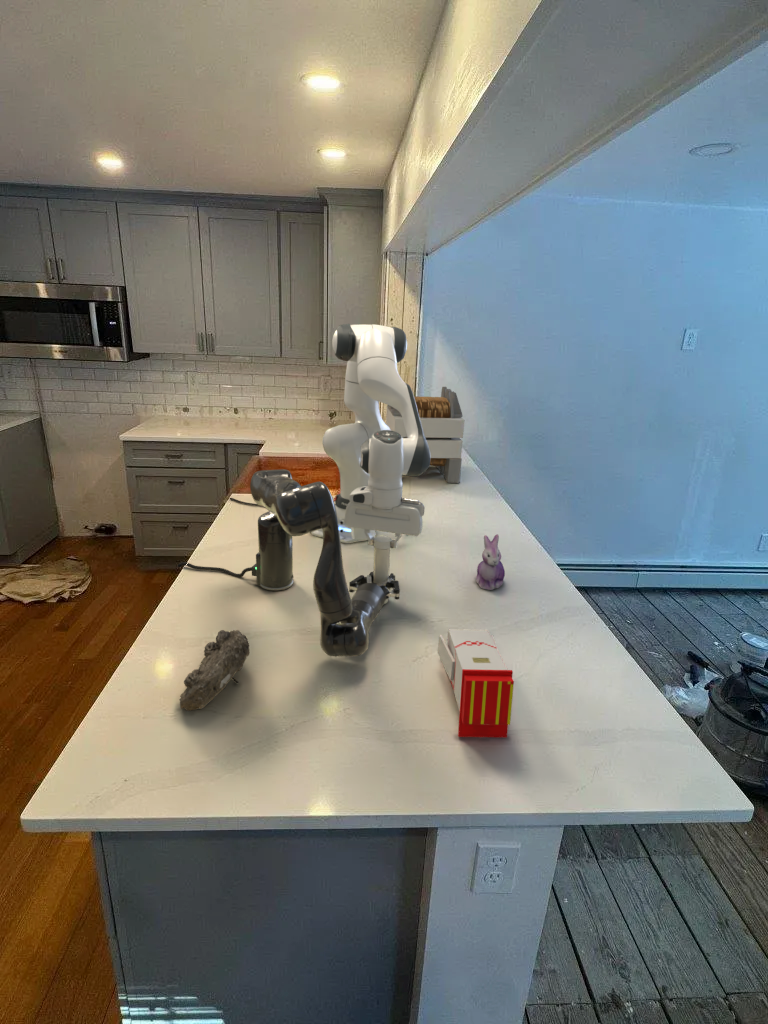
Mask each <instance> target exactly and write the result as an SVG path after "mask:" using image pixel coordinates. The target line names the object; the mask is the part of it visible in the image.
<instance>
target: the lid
mask: <svg viewBox="0 0 768 1024" xmlns="http://www.w3.org/2000/svg"><path fill="white" fill-rule="evenodd" d="M392 540H393V539H392V537H391V536H388V535H375V538H374V545H373V548H374V547H376V548H378V549H388V548H390V546H391V545H390V542H391V541H392ZM390 549H391V548H390Z"/></svg>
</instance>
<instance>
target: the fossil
mask: <svg viewBox="0 0 768 1024" xmlns="http://www.w3.org/2000/svg"><path fill="white" fill-rule="evenodd" d="M203 653H204V654H203V656H204V658H203V659H202V660H201V662H200V664H199V666H198V669H197V668H196V669H193V670H192V671H191V672H189V673H188V674H187V675H186V677H185V678H184V680H183V684H184V686H185V687H186V688H185V689H184V690H183V692H182V693H181V694H180V696H179V697H180V698H179V704H180V709H185V710H186V712H187V711H188V712H191V711H194V710H195V711H196V710H199V709H200V710H202V709H204V708H205V707H206V706H207V705H208V704H209V703H210V702H211V701H213V700H214V699H215V697H217V696H218V695H219V694H220V693H221V692H222V691H223V690H225V689H226V687H227V686H228V683H229V682H231V680H232V681H233V682H234V683H235V684H239V681H238V680H237V679H236V677H234V676H235V674H236V673H238V672H240V670H241V669H242V668H243V666H244V663H245V661H246V660H247V657H249V656H250V642H249V639H248V637H247V636H246V635H245V634H243V633H242V632H241V631H240V630H239V629H235V630H234V629H233V630H230V631H228V630H224V629H220V630H219V631H218V632H217V635H216V637H215V641H210V642H207V643H206V644H205V646H204V650H203Z"/></svg>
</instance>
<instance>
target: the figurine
mask: <svg viewBox="0 0 768 1024" xmlns="http://www.w3.org/2000/svg"><path fill="white" fill-rule="evenodd" d="M499 539H500V536H499V534H495V535H494V536H493V538H492V540H491V539H490V538H489V536H488V535H487V534H484V536H483V544H484V545H483V547H484V549H483V551H482V553H481V558H482V560H481V561H480V562H479V563H478V564H477V568H476V576H475V577H476V578H475V583H476V584H477V585H478V586H479V588H480V589H483V590H489V591H490V590H491V591H493V590H494V589H499V588H500V587H501V586H502V585H503V583H504V579H505V575H506V571H505V567H504V564H503V562H502V561H501V560H502V554H501V550H500V549H499Z"/></svg>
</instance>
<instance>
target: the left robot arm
mask: <svg viewBox="0 0 768 1024" xmlns="http://www.w3.org/2000/svg"><path fill="white" fill-rule="evenodd" d="M249 489H250V494H251V497H252V499H253V501H254V502H255V504H258V505H262V506H261V507H263V506H264V508H266V510H267V512H264V513H262V514H261V515H259V516H258V519H257V538H258V540H257V541H258V542H257V544H258V552H257V553H255V564H253V565H251V567H246V568H244V569H242V570H241V572H240V573H235V572H232V571H230V570H228V569H226V568H223V567H216V566H200V565H195V564H192V563H189V562H187V561H181V562H179V563H178V564H177V566H176V567H177V568H181V567H182V566H186V567H189V568H191V569H194V570H201V571H215V572H222V573H225V574H227V575H229V576H231V577H235V578H242V577H243V576H245V574H246V573H248V572H251V576H252V577H256V586H258V587H260V588H262V589H264V590H266V591H271V592H272V591H273V592H278V591H279V592H280V591H284V590H287V589H289V588H291V587H292V586H293V585H294V580H295V579H294V577H295V576H294V561H293V560H294V559H293V558H294V557H293V555H294V554H293V537H302V536H305V535H308V534H310V533H311V532H313V531H316V530H319V529H322V530H323V537H322V546H321V551H320V554H319V558H318V561H317V565H316V567H315V571H314V575H313V581H312V582H313V583H312V587H313V593H314V594H313V595H314V597H315V601H316V604H317V607H318V611H319V617H320V618H319V619H320V636H319V645H320V648H321V650H322V652H323V653H324V654H325V655H327V656H329V657H358V656H362V655H363V654H364V653H366V652H367V650H368V648H369V642H370V640H369V639H370V638H369V637H370V636H369V635H370V628H371V626H372V624H373V622H374V621H375V620H376V618H377V617H378V616H379V614H380V613H381V610H382V608H383V606H384V605H385V604H384V602H385V600H386V599H388V600H389V598H391V597H392V598H394V600H400V595H401V593H400V592H401V589H400V583H399V581H398V580H396V575H395V574H394V572H390V573H389V577H388V579H387V580H386V581H385V580H384V581H382V582H381V583H374V582H373V571H370V572H369V574H367V575H366V576H365V575H363V574H360V575H359V576H357V577H355V578H354V579H352V580H351V581H349V583H348V584H347V580H346V575H345V569H344V561H343V551H342V542H340V534H339V526H338V519H337V512H336V508H335V501H334V497H333V495H332V493H331V491H330V489H329V487H328V486H327V485H326V484H325V483H324V482H323V481H315V482H311V483H308V484H305V485H301V484H300V483H299V482H298V481H297V480H295V479H293V476H292V473H291V471H290V470H288V469H283V468H282V469H281V468H280V469H265V470H264V469H263V470H257V471H255V472H253V474H252V476H251V478H250V484H249ZM187 563H188V564H187ZM186 564H187V565H186ZM391 589H392V590H391ZM350 593H354V594H353V596H351V595H350Z"/></svg>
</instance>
